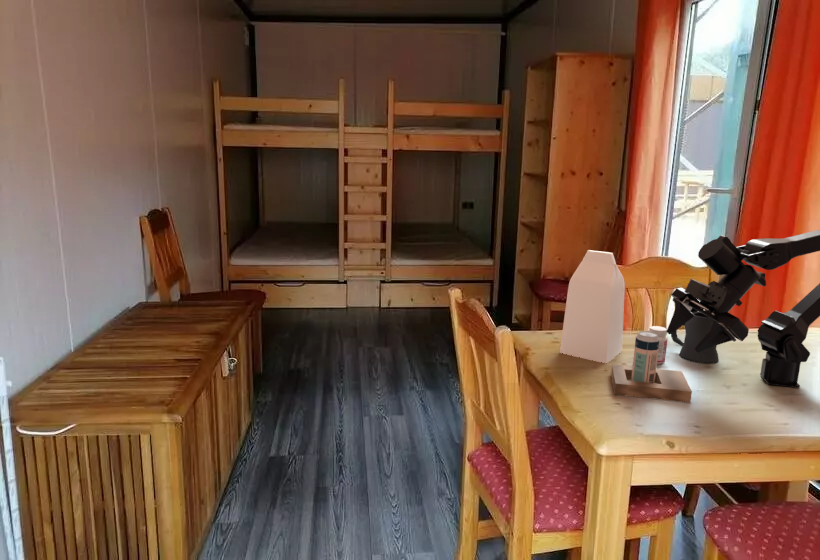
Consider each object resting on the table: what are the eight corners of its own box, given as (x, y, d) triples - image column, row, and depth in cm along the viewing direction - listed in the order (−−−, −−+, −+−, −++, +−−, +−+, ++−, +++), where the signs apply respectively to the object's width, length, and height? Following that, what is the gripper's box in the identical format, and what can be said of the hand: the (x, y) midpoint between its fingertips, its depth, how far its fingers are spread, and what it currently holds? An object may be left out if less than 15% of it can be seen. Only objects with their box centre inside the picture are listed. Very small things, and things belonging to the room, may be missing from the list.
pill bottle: (666, 365, 150) (670, 331, 148) (645, 363, 151) (649, 330, 149) (662, 358, 155) (666, 326, 153) (642, 356, 156) (646, 324, 154)
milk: (559, 353, 157) (567, 251, 152) (577, 342, 166) (585, 246, 161) (606, 363, 150) (616, 258, 145) (621, 351, 160) (632, 251, 154)
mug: (724, 358, 156) (730, 315, 153) (709, 366, 150) (715, 322, 148) (678, 346, 165) (682, 305, 162) (661, 353, 159) (666, 311, 156)
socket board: (680, 381, 140) (682, 371, 139) (690, 403, 128) (691, 391, 128) (610, 374, 143) (611, 364, 143) (614, 394, 132) (615, 383, 131)
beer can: (653, 383, 138) (659, 332, 135) (654, 391, 133) (660, 338, 131) (630, 380, 139) (636, 329, 136) (630, 388, 135) (636, 335, 132)
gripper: (682, 253, 140) (635, 305, 141) (745, 282, 123) (691, 341, 124) (708, 281, 144) (662, 331, 146) (771, 312, 128) (719, 369, 129)
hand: (681, 341), depth 136 cm, fingers open, 9 cm apart
